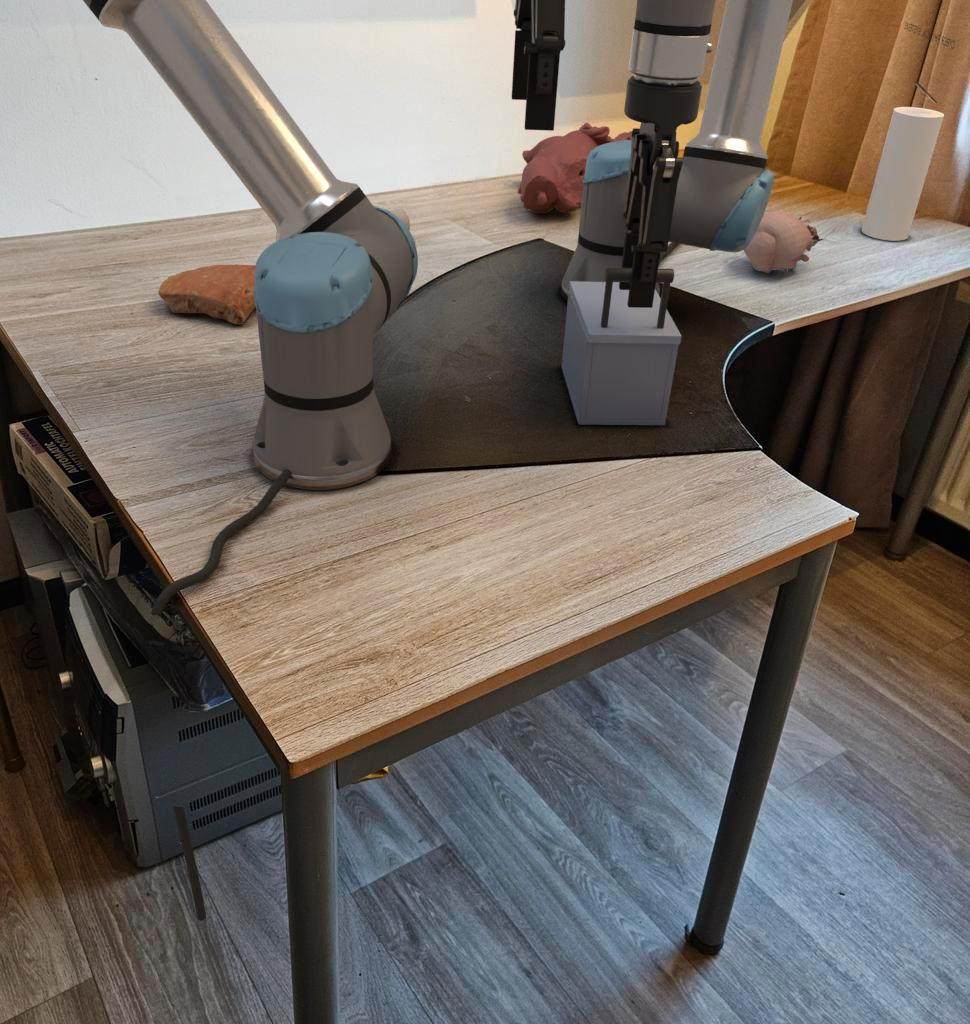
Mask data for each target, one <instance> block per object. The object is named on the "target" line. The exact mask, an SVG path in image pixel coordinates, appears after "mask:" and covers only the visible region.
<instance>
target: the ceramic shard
mask: <svg viewBox="0 0 970 1024" xmlns="http://www.w3.org/2000/svg"><path fill="white" fill-rule="evenodd" d="M255 265H256V264H255ZM255 265H254V264H212V265H209V266H208V265H207V266H201V267H197V268H195V269H189V270H185V271H182V272H179V273H176V274H173V275H170V276H168V277H167V278H166V279H165V280H164V281H163V282H162V283H160V286H159V288H158V290H157V294H158V295H159V297H160V298H161V299H162V300H163V301H164V302H166V304H167V307H168V308H169V309H170V311H171V312H172V313H174V314H204V315H205V314H206V315H208V316H210V317H212V318H216V319H222V320H224V321H227V322H229V323H231V324H234V325H243V324H244V323H245V321H246V320H247V318H248V317H249V316H250V315H251V313H252V312H253V311H254V310H255V309H256V306H255V301H254V294H253V290H254V285H255V284H254V282H255V276H254V271H255Z"/></svg>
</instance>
